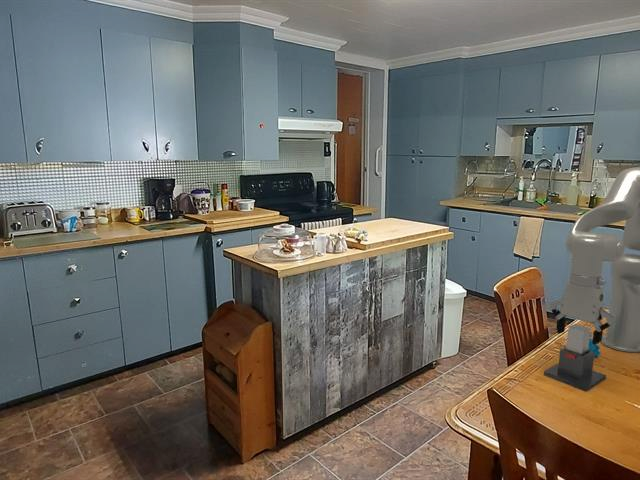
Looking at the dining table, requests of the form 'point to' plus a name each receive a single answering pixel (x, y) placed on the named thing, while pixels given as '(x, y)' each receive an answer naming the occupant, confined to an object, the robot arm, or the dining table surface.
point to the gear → (594, 348)
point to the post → (578, 339)
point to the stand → (575, 370)
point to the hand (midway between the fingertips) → (577, 337)
